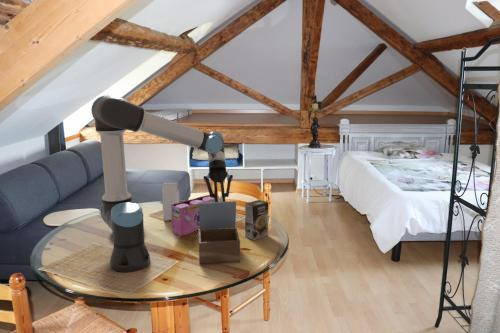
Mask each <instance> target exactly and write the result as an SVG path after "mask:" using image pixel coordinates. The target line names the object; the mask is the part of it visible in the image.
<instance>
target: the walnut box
mask: <svg viewBox="0 0 500 333" xmlns="http://www.w3.org/2000/svg"><path fill="white" fill-rule="evenodd" d="M198 257H199V258H198V261H199V265H200V266H201V265H212V264H213V265H214V264H215V265H217V264H231V263H232V264H234V263H241V240H240V236H239V232H238V229H237V227H235V228H223V229H203V230H198Z"/></svg>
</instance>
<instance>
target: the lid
mask: <svg viewBox="0 0 500 333" xmlns="http://www.w3.org/2000/svg"><path fill="white" fill-rule="evenodd" d="M236 216H237V201H235V200H234V201H225V202H204V203H199V222H200V230H207V229H228V228H236V224H237V223H236V222H237V221H236Z"/></svg>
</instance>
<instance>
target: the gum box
mask: <svg viewBox="0 0 500 333" xmlns="http://www.w3.org/2000/svg"><path fill="white" fill-rule="evenodd" d="M204 202H215V199H214V198H211V197H210V194H207V195H201V196H199V197H195V198H192V199H188V200H184V201H181V202H180V201H179V203H176V204H172V205H171V213H172V221H171V230H172V233H173V234H176V235H179V236H181V237H182V236H185V235H188V234H189V235H190V234H192V233H194V231H195V232H198V231H199V229H200V222H199V203H204ZM197 230H198V231H197Z"/></svg>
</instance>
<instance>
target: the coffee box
mask: <svg viewBox="0 0 500 333" xmlns="http://www.w3.org/2000/svg"><path fill="white" fill-rule="evenodd" d="M244 204H245V208H244V212H245V214H244V217H245V218H244V221H245V222H244V237H245V238H247V239H250V240H252V241H255V240H259V239H261V238H264V237H268V236H269V201H265V200H261V199H258V200H257V199H256V200H253V201H250V202H245V203H244Z"/></svg>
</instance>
